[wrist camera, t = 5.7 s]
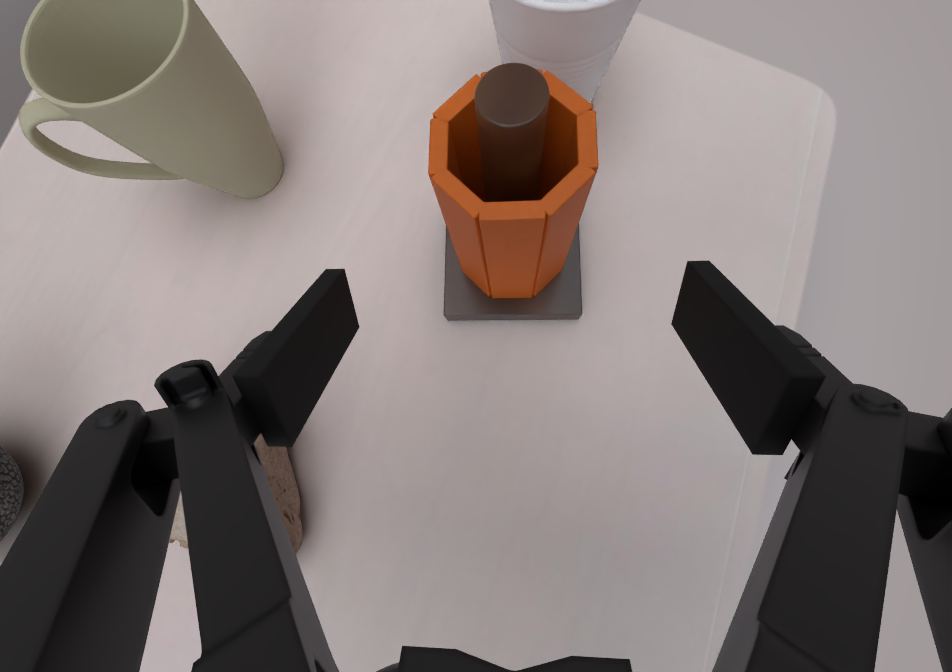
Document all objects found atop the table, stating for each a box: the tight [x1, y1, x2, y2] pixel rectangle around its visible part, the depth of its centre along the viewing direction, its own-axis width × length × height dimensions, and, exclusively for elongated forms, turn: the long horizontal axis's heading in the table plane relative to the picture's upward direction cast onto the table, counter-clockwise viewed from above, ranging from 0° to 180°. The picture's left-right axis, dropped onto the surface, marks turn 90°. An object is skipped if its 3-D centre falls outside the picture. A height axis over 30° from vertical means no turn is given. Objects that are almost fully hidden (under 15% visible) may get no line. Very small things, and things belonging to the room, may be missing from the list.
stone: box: [169, 433, 302, 555], centre depth 25 cm, size 9×11×5 cm
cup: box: [489, 0, 641, 103], centre depth 25 cm, size 10×10×11 cm
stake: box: [444, 63, 582, 320], centre depth 21 cm, size 9×9×15 cm
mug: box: [19, 0, 283, 198], centre depth 26 cm, size 11×10×12 cm
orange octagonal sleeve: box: [428, 69, 598, 298], centre depth 22 cm, size 7×7×11 cm
